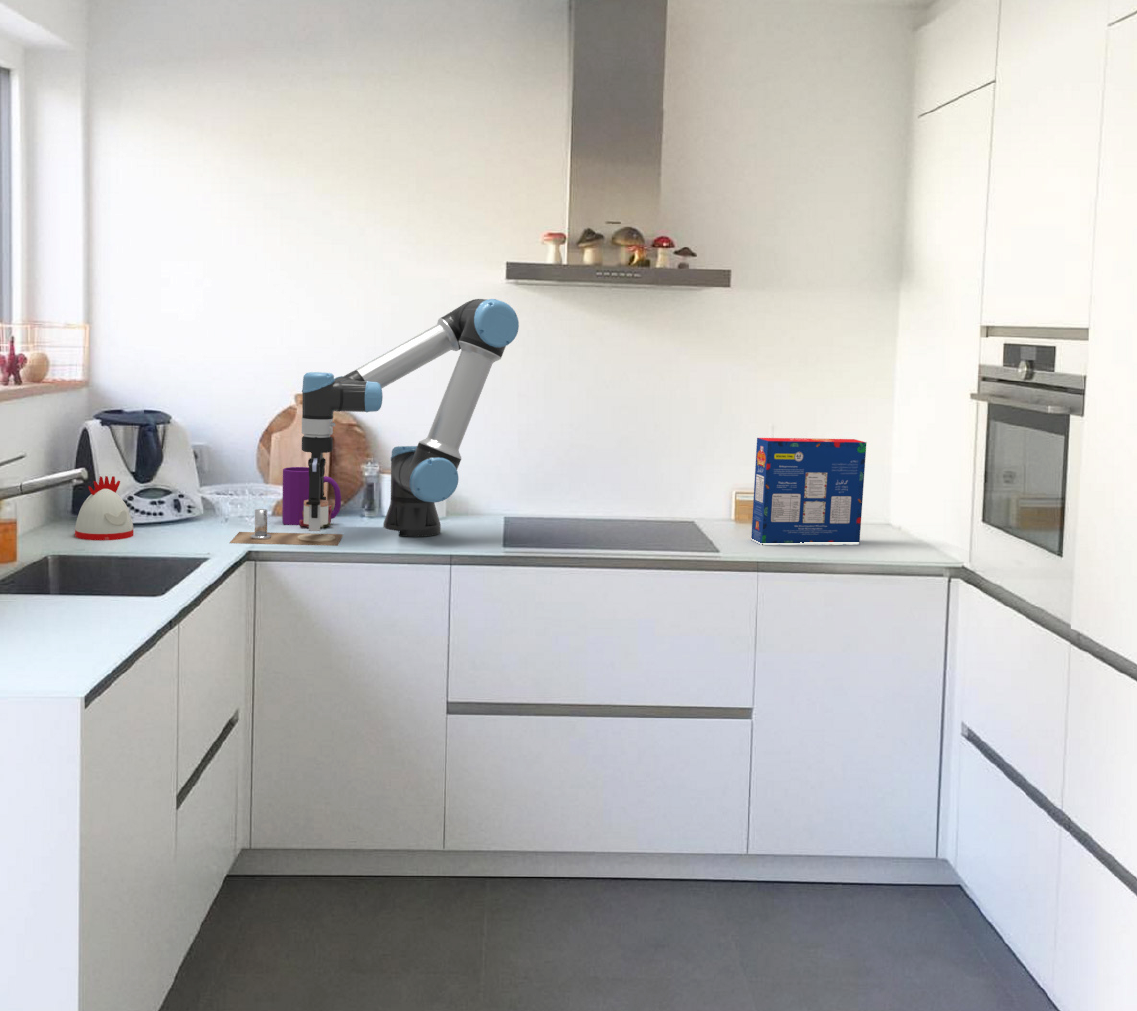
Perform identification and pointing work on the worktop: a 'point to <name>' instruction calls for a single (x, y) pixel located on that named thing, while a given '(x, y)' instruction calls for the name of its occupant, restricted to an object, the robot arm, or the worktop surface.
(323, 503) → the cap
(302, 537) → the coaster
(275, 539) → the board
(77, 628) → the worktop surface
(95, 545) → the worktop surface
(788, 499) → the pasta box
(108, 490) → the kitchen timer
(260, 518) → the post
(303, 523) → the flower
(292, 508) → the mug
